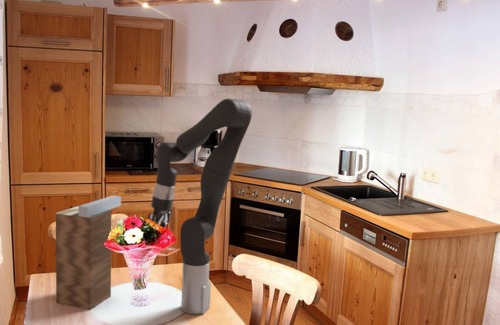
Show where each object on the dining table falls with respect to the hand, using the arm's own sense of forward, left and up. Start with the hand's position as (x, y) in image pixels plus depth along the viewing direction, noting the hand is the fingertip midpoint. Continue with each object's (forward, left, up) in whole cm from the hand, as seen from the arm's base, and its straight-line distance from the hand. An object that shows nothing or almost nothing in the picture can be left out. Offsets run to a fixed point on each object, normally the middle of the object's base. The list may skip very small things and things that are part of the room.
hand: (155, 237), depth 179 cm
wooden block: (+19, +16, -21) cm, 33 cm away
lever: (+15, +12, +11) cm, 22 cm away
